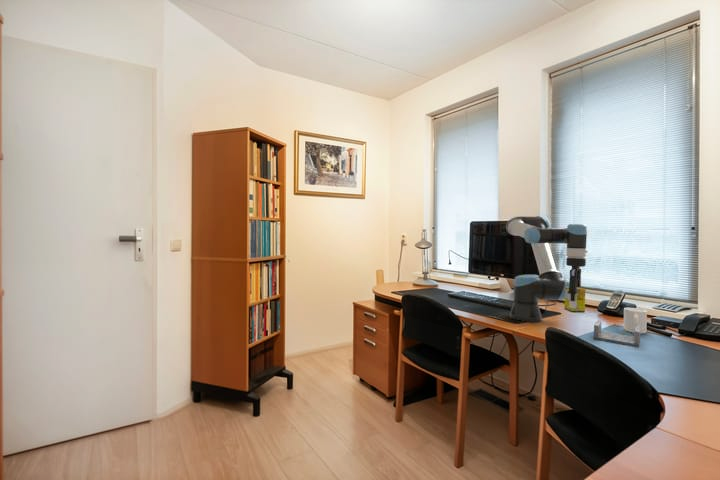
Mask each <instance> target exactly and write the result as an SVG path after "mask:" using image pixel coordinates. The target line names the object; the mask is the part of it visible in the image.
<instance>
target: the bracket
mask: <svg viewBox="0 0 720 480" xmlns="http://www.w3.org/2000/svg"><path fill="white" fill-rule="evenodd" d="M633 335H634V336H632V335H625V334H621V333H614V332H608V331H603V330H602V319H597V320H596V322H595V323H594V324H593V340H598V341H604V342H609V343H615V344H620V345H627V346H632V347H638V348H639V347H640V340H641V334H640V326H635V331H634V333H633Z"/></svg>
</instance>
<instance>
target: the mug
mask: <svg viewBox="0 0 720 480" xmlns="http://www.w3.org/2000/svg"><path fill="white" fill-rule="evenodd" d="M647 317H648V310H646V309H642V308H638V307H637V308H636V307H624V308H623V330H624V331H625V332H627V331H628V332H627V333H631V332H632V334H634V331H635V326H640V333H645V334H646V333H647V323H648V322H647V321H648V320H647V319H648V318H647Z"/></svg>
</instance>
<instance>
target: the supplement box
mask: <svg viewBox="0 0 720 480" xmlns="http://www.w3.org/2000/svg"><path fill="white" fill-rule="evenodd" d="M573 291H574V290H573ZM568 292H569V287H565V299H564V310H565V311H567V312H570V313H575V314H578V313H583V314H584V313H585V312H586V310H585V309H586V288H583V287H581V288H579V287H577V291H576V292H577V293H576V294H577V306H576V309H575V308H569V297H570V294H569V293H568Z"/></svg>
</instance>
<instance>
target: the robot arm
mask: <svg viewBox="0 0 720 480" xmlns="http://www.w3.org/2000/svg"><path fill="white" fill-rule="evenodd" d="M505 229H506V232H507V233H508V234H509V235H511V236H516V237H517V236H519V237H520V238H524V241H525V243H528V244H530V245H531V247H532V248H531V249H532V251H533V255H534V258H535V261H536V265H537V269H538V273H539V275H538V274H520V275H517V276H515V277H514V281H513V282H514V283H513V305H512V307H511V309H510V312H509V318H510V319H512V318H513V319H512V320H515V319H516V320H515V321H519V320H521V321H520V322H525V321H526V322H527V323H539V322H542V318H543V317H542V313H541V310H540V307H539V300H547V301H565V287H569V292H568V293H569V294H570V297H569V308H575V309H576V306H577V294H576V293H577V292H576V291H577V287H579V288H582V286H581V285H582V278H581V276H582V268H581V267H583V268H584V267H585V266H586V265H587V262H586V261H587V259H586V258H585V257H587V253H588V250H587V236H588V235H587V234H588V231H587V230H588V229H587V225H586V224H585V223H569V224H567V228H566V227H560V228H559V227H551V223H550V220H549V219H548V218H547V217H546V216H540V215H539V216H538V215H537V216H515V217H511V219H509V220H508V221H507V222H506V224H505ZM550 244H566V254H565V255H566V262H565V264H566V266H568V267H571V269H570V270H569V278H566V277H563V275H562V273H561V272H560V271H558V269H557V266H556V264H555V260H554V257H553V254H552V251H551V248H550ZM573 290H574V291H573Z"/></svg>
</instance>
